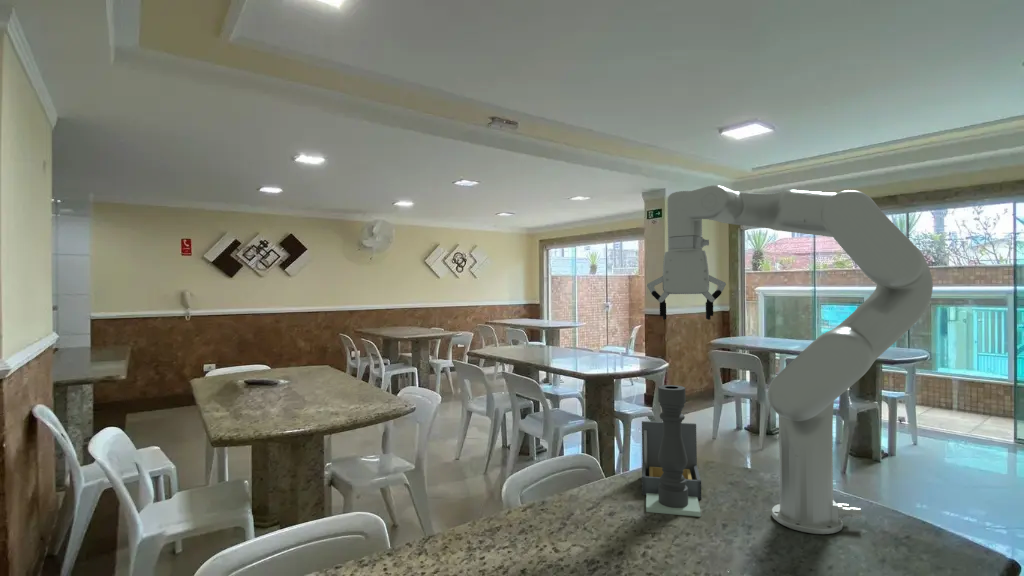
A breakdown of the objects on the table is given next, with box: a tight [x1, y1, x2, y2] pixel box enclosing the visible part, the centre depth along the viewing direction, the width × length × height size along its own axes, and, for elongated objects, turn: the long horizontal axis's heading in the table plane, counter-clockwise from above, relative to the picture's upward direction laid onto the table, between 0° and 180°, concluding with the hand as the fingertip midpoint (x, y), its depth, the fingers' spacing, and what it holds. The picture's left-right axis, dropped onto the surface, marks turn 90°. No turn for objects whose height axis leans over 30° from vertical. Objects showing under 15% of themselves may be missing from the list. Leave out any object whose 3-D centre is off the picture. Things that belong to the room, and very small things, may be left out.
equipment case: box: [641, 420, 702, 500], centre depth 127 cm, size 13×12×14 cm
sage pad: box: [645, 493, 702, 518], centre depth 116 cm, size 11×8×1 cm
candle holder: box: [657, 384, 688, 508], centre depth 116 cm, size 6×6×25 cm
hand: (686, 319), depth 123 cm, fingers open, 9 cm apart
